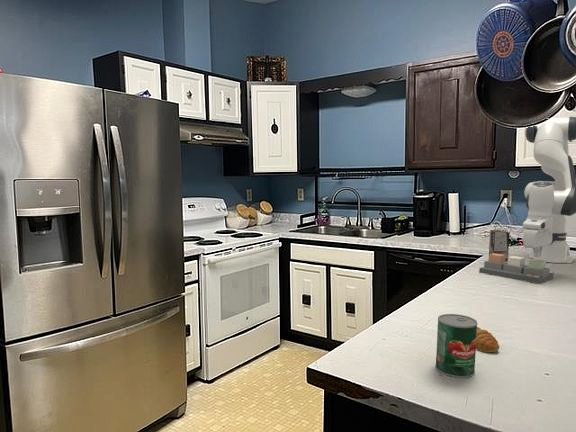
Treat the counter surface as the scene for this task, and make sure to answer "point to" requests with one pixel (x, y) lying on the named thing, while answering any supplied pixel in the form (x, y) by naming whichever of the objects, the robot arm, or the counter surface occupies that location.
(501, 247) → the coffee box
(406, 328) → the counter surface
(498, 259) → the key rust
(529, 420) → the counter surface
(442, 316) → the canned tomato
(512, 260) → the key cream
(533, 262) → the key sage
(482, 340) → the pastry
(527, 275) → the keypad base
